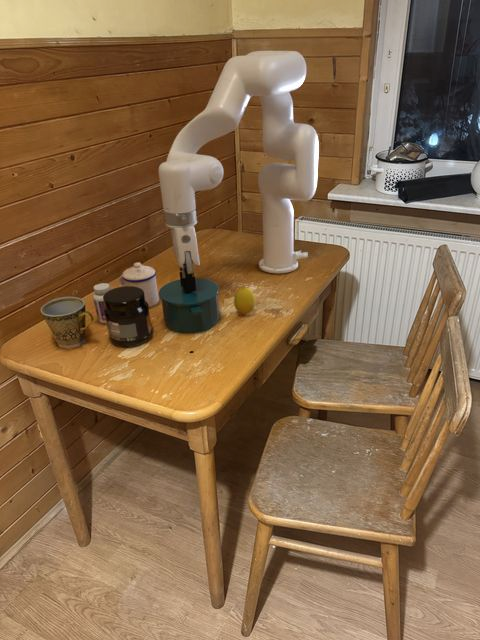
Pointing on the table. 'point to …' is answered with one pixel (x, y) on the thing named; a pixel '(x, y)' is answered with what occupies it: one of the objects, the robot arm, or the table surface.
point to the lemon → (244, 300)
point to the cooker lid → (188, 293)
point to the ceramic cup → (67, 320)
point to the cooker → (191, 316)
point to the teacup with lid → (142, 281)
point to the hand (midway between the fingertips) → (188, 288)
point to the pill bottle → (100, 300)
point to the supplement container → (127, 316)
